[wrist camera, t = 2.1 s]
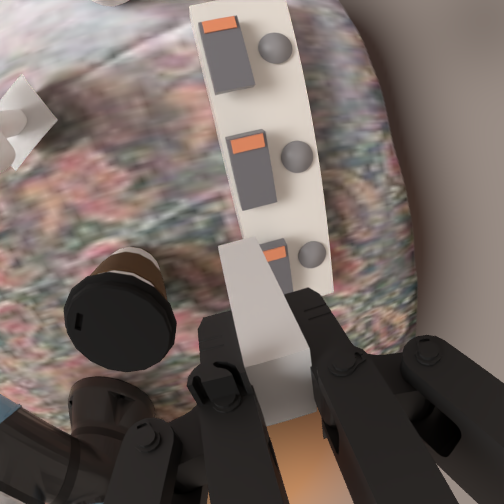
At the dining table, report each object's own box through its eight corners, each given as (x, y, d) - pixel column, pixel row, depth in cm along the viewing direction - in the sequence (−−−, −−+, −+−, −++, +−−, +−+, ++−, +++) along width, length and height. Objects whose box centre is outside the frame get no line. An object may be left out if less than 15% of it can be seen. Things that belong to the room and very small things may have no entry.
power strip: (326, 323, 45) (337, 342, 42) (267, 341, 45) (274, 362, 41) (273, 4, 26) (284, -9, 22) (189, 17, 25) (189, 4, 22)
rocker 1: (273, 197, 31) (277, 203, 30) (240, 205, 31) (242, 212, 30) (262, 128, 27) (266, 131, 26) (225, 137, 27) (227, 140, 26)
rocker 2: (290, 288, 36) (294, 296, 35) (261, 297, 36) (264, 305, 35) (283, 237, 32) (287, 245, 31) (250, 246, 32) (253, 254, 31)
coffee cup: (84, 291, 36) (56, 355, 26) (102, 214, 33) (67, 263, 22) (163, 317, 40) (159, 386, 29) (191, 245, 36) (193, 305, 26)
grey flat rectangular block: (253, 87, 25) (255, 84, 24) (215, 95, 25) (215, 92, 24) (235, 20, 23) (237, 14, 22) (198, 27, 23) (198, 21, 21)
